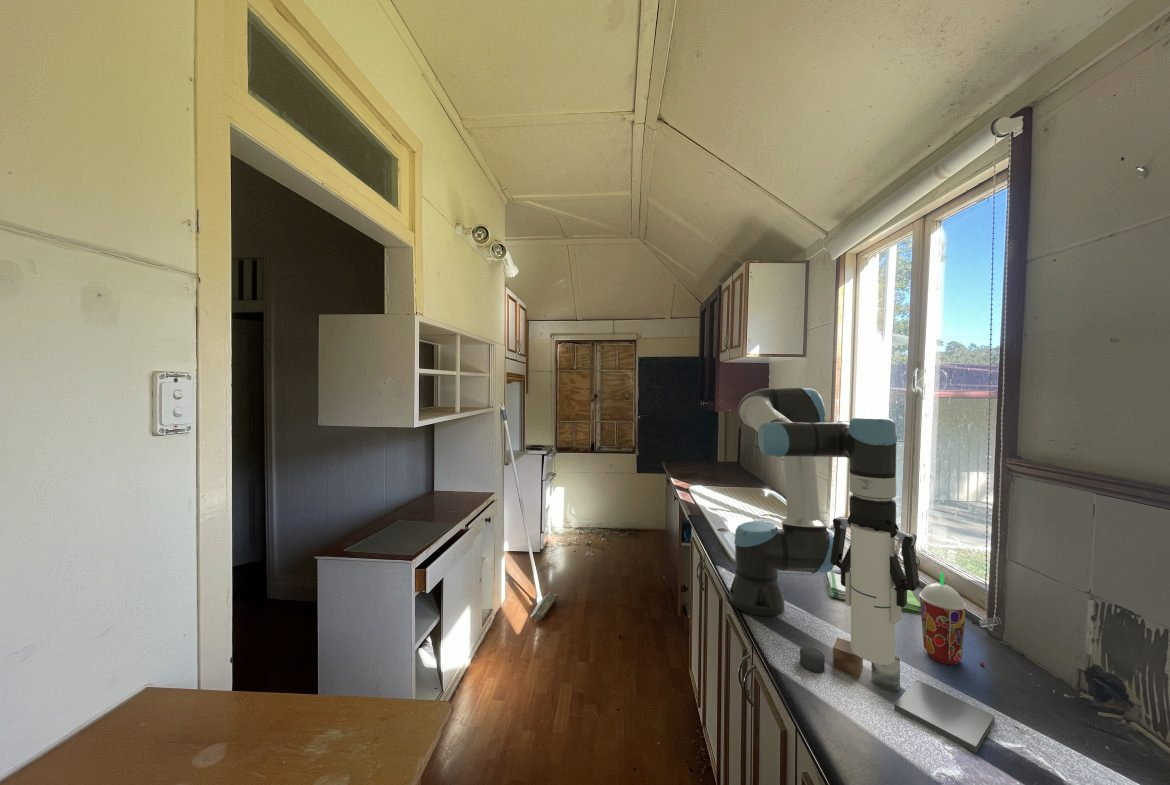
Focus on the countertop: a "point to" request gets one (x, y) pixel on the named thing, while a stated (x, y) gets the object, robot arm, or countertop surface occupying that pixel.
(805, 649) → the black rubber puck
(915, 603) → the dish towel
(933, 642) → the smoothie
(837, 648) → the walnut block
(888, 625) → the cylindrical container
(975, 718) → the plate
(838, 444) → the robot arm
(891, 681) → the grey metal tin
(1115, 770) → the countertop surface
